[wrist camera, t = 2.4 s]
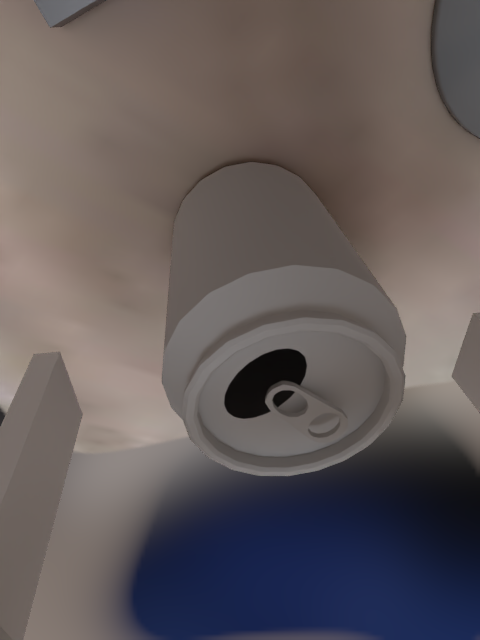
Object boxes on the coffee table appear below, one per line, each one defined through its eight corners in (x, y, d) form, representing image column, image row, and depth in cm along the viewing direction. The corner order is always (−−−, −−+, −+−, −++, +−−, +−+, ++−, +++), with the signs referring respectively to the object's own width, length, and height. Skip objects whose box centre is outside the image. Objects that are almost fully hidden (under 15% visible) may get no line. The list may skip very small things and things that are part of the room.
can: (229, 120, 18) (276, 241, 8) (351, 213, 21) (488, 381, 11) (144, 253, 21) (107, 450, 12) (261, 317, 24) (308, 516, 15)
